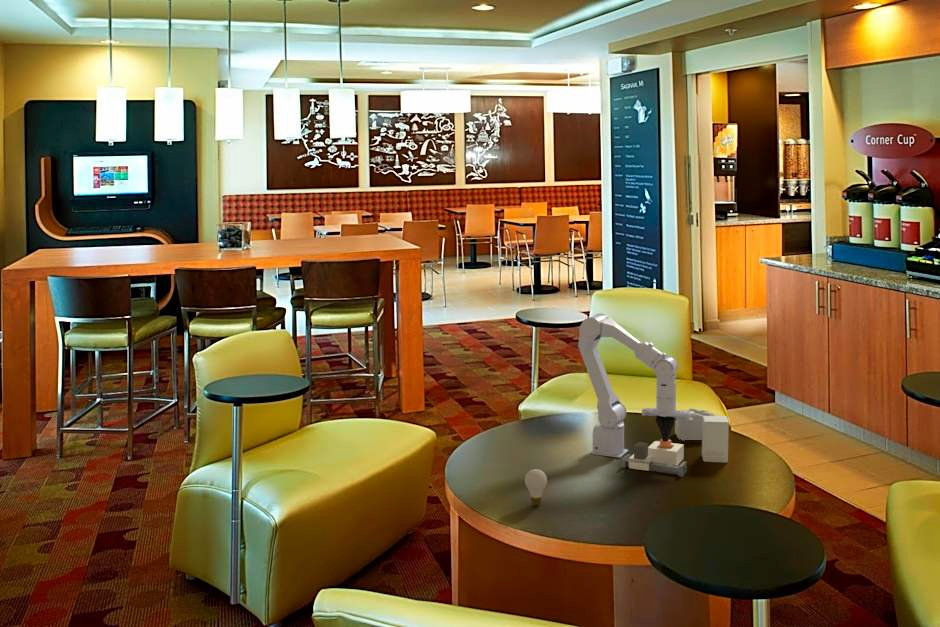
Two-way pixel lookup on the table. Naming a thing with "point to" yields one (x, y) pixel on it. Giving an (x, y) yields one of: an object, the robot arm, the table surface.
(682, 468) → the rail
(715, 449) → the supplement box
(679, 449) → the white hollow block
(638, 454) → the carriage
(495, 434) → the table surface
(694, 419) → the lumpy-topped squat cylinder
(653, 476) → the table surface
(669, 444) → the plunger
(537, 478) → the light bulb
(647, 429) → the table surface
